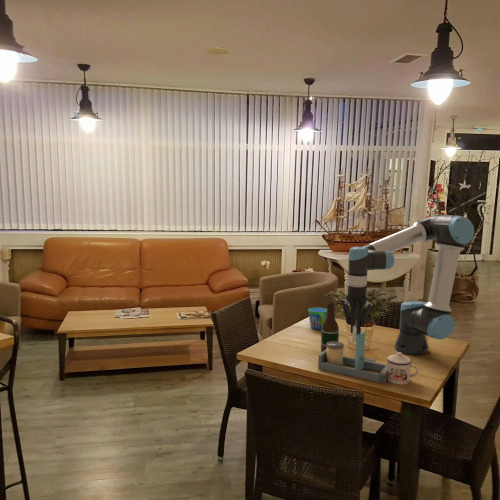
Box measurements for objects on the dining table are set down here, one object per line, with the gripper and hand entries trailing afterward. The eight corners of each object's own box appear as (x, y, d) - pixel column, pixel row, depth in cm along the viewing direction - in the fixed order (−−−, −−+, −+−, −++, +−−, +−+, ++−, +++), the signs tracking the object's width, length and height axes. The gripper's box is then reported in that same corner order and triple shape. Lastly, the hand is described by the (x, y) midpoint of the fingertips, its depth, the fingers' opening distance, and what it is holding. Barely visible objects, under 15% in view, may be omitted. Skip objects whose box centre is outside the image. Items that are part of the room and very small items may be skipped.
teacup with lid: (385, 383, 181) (386, 355, 180) (386, 375, 190) (387, 347, 188) (418, 388, 177) (419, 358, 176) (417, 378, 186) (419, 351, 184)
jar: (342, 364, 200) (343, 341, 199) (343, 370, 193) (343, 347, 192) (326, 362, 202) (326, 340, 200) (325, 369, 195) (326, 346, 193)
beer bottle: (337, 356, 209) (339, 305, 206) (320, 355, 210) (321, 304, 207) (338, 351, 216) (339, 300, 213) (321, 349, 218) (322, 300, 215)
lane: (392, 373, 191) (393, 359, 190) (384, 383, 181) (385, 368, 180) (328, 359, 205) (329, 346, 204) (318, 368, 195) (318, 355, 194)
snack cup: (304, 323, 260) (305, 306, 258) (322, 323, 261) (323, 305, 259) (311, 332, 244) (312, 313, 243) (331, 331, 245) (331, 313, 244)
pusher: (378, 370, 192) (379, 333, 190) (371, 378, 185) (373, 339, 183) (361, 367, 196) (363, 330, 194) (354, 374, 188) (356, 336, 186)
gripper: (375, 285, 188) (373, 341, 191) (345, 281, 195) (343, 335, 198) (370, 288, 182) (367, 346, 185) (338, 284, 188) (337, 340, 192)
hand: (355, 340), depth 191 cm, fingers closed
